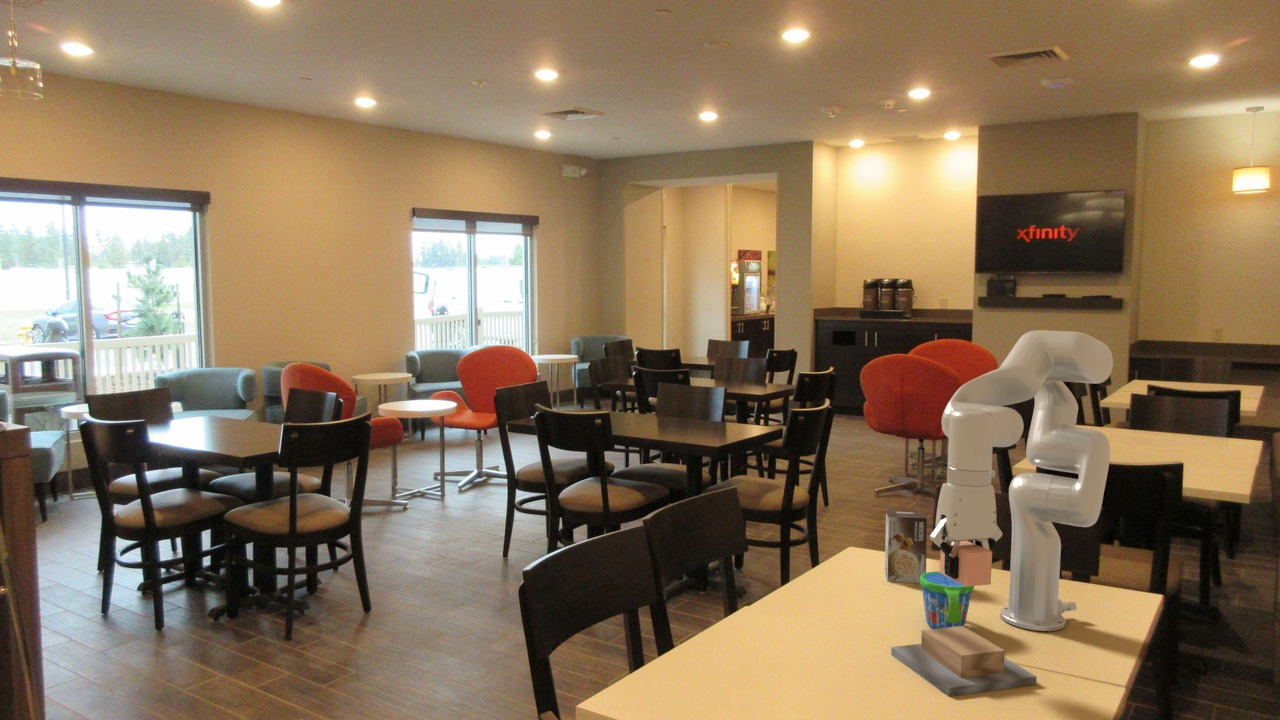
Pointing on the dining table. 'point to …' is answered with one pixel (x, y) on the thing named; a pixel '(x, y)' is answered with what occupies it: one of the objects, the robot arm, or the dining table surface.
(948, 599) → the snack cup
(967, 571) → the brick
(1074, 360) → the robot arm
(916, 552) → the coffee box
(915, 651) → the base
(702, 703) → the dining table surface
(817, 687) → the dining table surface
